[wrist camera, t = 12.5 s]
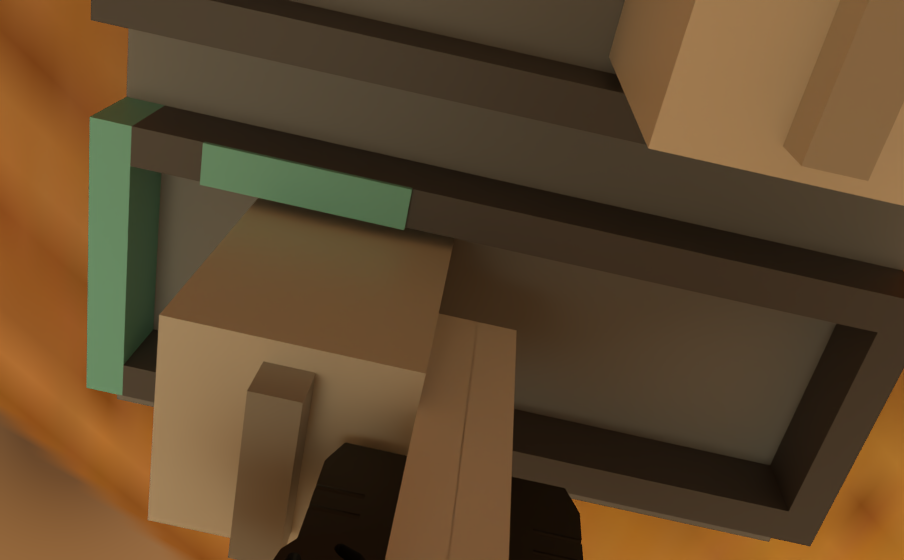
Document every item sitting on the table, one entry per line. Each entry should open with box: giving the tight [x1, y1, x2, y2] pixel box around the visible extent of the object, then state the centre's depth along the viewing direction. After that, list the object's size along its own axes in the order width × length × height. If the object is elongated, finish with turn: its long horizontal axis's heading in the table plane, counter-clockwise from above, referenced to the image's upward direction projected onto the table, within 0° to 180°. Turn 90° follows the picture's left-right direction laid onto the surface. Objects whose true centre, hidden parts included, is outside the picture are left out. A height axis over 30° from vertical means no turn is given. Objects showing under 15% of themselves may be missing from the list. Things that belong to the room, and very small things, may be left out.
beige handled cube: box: [148, 198, 454, 560], centre depth 16 cm, size 4×4×7 cm
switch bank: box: [87, 0, 904, 546], centre depth 17 cm, size 17×16×3 cm
